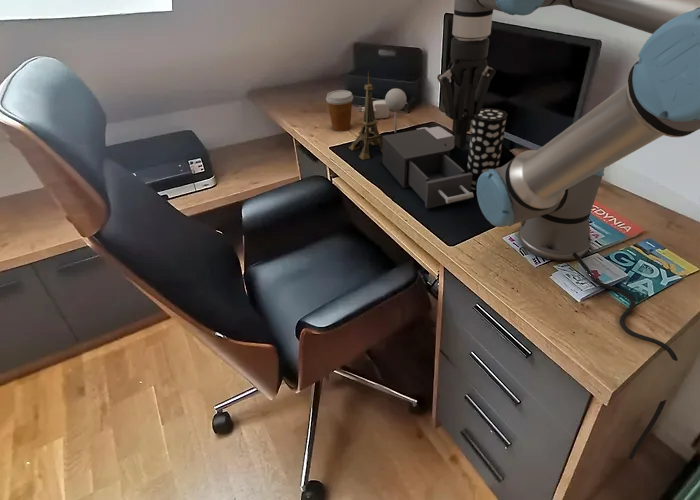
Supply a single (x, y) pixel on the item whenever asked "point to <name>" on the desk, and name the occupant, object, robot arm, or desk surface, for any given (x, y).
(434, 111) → the desk surface
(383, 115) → the power adapter
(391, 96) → the lollipop
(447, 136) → the charger
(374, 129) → the eiffel tower
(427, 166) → the drawer
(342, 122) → the disposable coffee cup
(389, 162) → the cabinet
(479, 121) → the white-spotted black cylinder
